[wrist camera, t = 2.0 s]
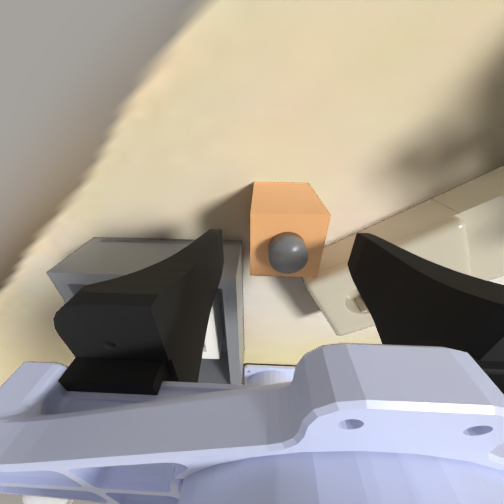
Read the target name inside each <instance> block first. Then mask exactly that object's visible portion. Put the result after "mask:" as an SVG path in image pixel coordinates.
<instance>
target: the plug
mask: <svg viewBox="0 0 504 504" xmlns="http://www.w3.org/2000/svg"><path fill="white" fill-rule="evenodd" d="M330 216H331V214H330V213H329V211H328V210H327V209H326V207H325V206H324V204H323V203H322V201H321V200H320V198H319V197H318V195H317V194H316V193H315V191H314V190H313V188H312V187H311V185H310V184H309V183H296V182H254V187H253V195H252V203H251V212H250V276H284V277H317V276H318V271H319V267H320V262H321V257H322V253H323V248H324V244H325V239H326V234H327V230H328V225H329V220H330Z"/></svg>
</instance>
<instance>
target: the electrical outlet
mask: <svg viewBox="0 0 504 504" xmlns="http://www.w3.org/2000/svg"><path fill="white" fill-rule="evenodd" d="M357 233H370V234H373V235H375V236H378V237H380V238H382V239H384V240H386V241H388V242H390V243H392V244H394V245H396V246H398V247H400V248H402V249H404V250H406V251H409V252H411V253H413V254H415V255H417V256H419V257H422V258H424V259H426V260H428V261H431V262H433V263H436V264H438V265H441V266H444V267H446V268H449V269H452V270H455V271H457V272H460V273H463V274H467V275H470V276H473V277H476V278H480V279H483V280H486V281H489V280H492V279H495V278H498V277H502V276H504V165H503V166H501V167H499V168H497V169H495V170H492V171H490V172H488V173H486V174H484V175H482V176H479V177H477V178H475V179H473V180H471V181H468V182H466V183H464V184H462V185H460V186H457V187H455V188H453V189H451V190H449V191H447V192H444V193H442V194H440V195H438V196H436V197H433V198H431V199H429V200H427V201H425V202H423V203H420V204H418V205H416V206H414V207H412V208H409V209H407V210H405V211H403V212H401V213H398V214H396V215H394V216H392V217H390V218H388V219H385V220H383V221H381V222H379V223H377V224H374V225H372V226H370V227H368V228H366V229H363V230H361V231H359V232H357ZM357 233H355V234H353V235H350V236H348V237H346V238H344V239H342V240H339V241H337V242H335V243H333V244H331V245H329V246H326V247H324V248H323V253H322V257H321V262H320V267H319V271H318V276H317V277H303V279H304V283H305V286H306V288H307V290H308V291H309V293H310V294H311V296H312V297H313V299H314V301H315V302H316V304H317V305H318V307H319V308H320V310H321V311H322V313H323V315H324V316H325V318H326V319H327V321H328V322H329V324H330V325H331V327H332V329H333V330H334V332H335V333H336V335H338V336H343V335H347V334H350V333H353V332H356V331H359V330H362V329H366V328H369V327H372V326H375V323H374V321H373V318H372V316H371V314H370V312H369V310H368V308H367V307H366V305H365V303H364V301H363V299H362V297H361V295H360V293H359V291H358V290H357V288H356V286H355V284H354V282H353V280H352V277H351V274H350V271H349V268H348V265H347V264H348V260H349V257H350V254H351V250H352V247H353V244H354V240H355V237H356V234H357Z"/></svg>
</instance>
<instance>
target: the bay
mask: <svg viewBox="0 0 504 504" xmlns="http://www.w3.org/2000/svg"><path fill="white" fill-rule="evenodd" d="M194 241H195V240H185V239H144V238H104V237H94V238H93V239H91V240H90V241H89V242H87V243H86V244H84V245H83V246H82V247H80V248H79V249H78V250H76V251H75V252H73V253H72V254H71V255H69V256H68V257H67V258H65V259H64V260H62V261H61V262H60V263H58V264H57V265H56V266H54V267H53V268H51V269H50V270H49V271H47V272H46V273H47V274H48V276H49V277H50V279H51V280H52V282H53V284H54V285H55V287H56V288H57V290H58V291H59V293H60V295H61V296H62V298H63V299H64V301H65V302H66V303H67V302H68V301H69V300H70V299H71V298H72V297H73V296H74V295H75V294H76V293H77V292H78V291H79V290H80V289H81V288H82V287H83V286H85V285H89V284H94V283H98V282H102V281H106V280H110V279H114V278H117V277H121V276H124V275H127V274H130V273H133V272H136V271H139V270H142V269H144V268H146V267H149V266H151V265H154V264H156V263H158V262H160V261H162V260H164V259H166V258H168V257H170V256H172V255H174V254H176V253H177V252H179V251H180V250H182V249H183V248H185V247H187V246H188V245H190V244H191V243H192V242H194ZM223 253H224V265H223V271H222V276H221V280H220V283H219V286H218V289H217V292H216V295H215V299H214V302H213V305H212V308H211V312H210V316H209V321H208V326H207V331H206V337H205V342H204V348H203V354H202V360H201V366H200V372H199V379H198V383H216V384H239V385H242V375H243V362H244V316H243V271H242V241H225V240H223Z"/></svg>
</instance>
